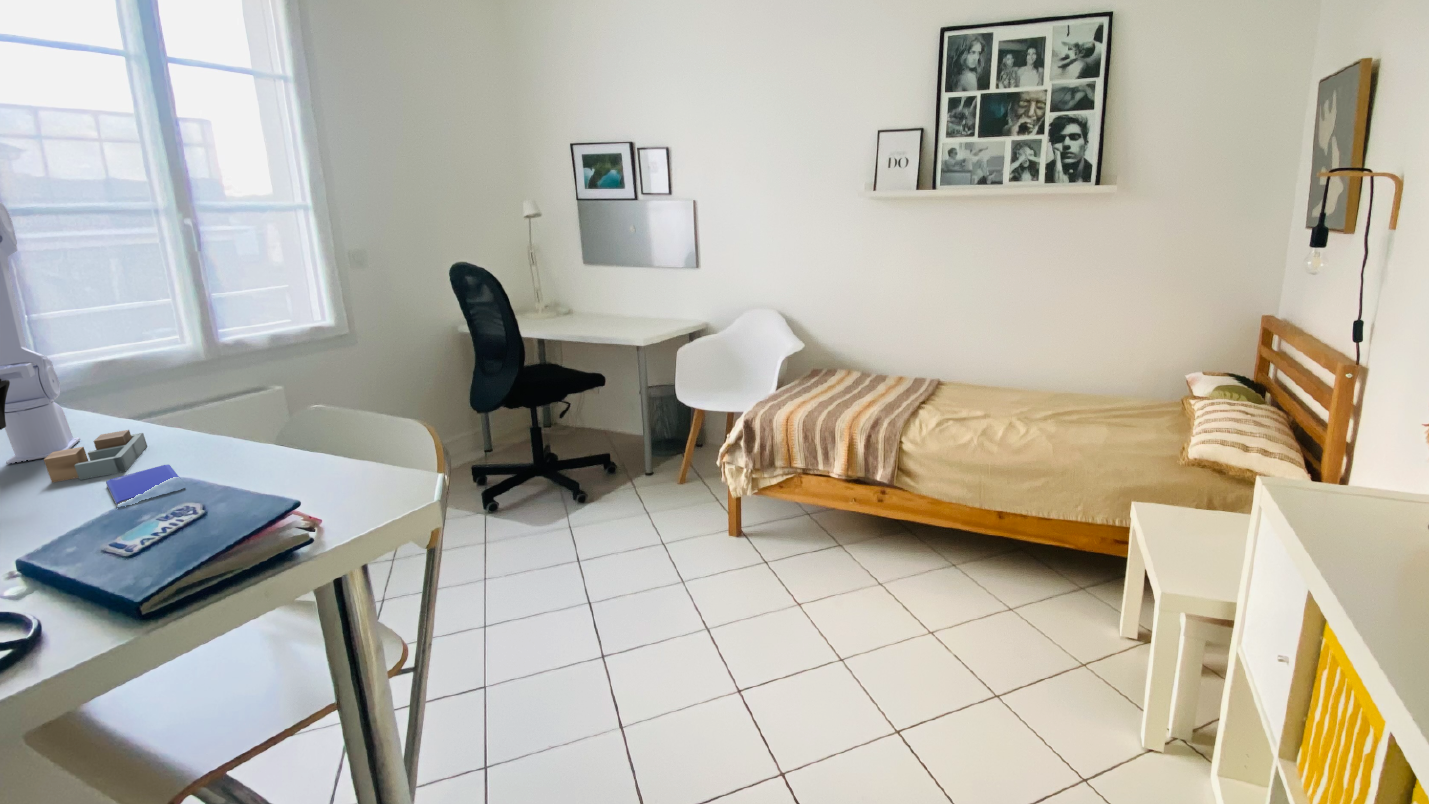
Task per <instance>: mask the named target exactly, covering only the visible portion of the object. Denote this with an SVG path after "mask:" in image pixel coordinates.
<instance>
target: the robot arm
mask: <svg viewBox="0 0 1429 804" xmlns="http://www.w3.org/2000/svg"><path fill="white" fill-rule="evenodd" d="M10 215H11V214H10V213H9V211H8V209H7V207H6V205H5V204H4V203H3V202H2V201H0V431H1V430H3V429H4V430H5V433H6V435H7V438H8V441H9V443H10V445H11V448H12V451H13V453H14V455H13V456H11V457H10V458H9V459H8V460H5V464H7V465H10V464H9V463H12V464H16V463H15V462H17V463H22V462H21V461H23V462H26V461H25V460H28V461H32V460H40V459H45V458H46V457H47V456H48V455H50V454H51V453H52V452H55V451H61V450H67V449H72V448H73V447H74V445H76V444H77V443H78V442H80V440H81V437H78V436H77V437H73V433H72V431H71V430H72V429H71V428H70V426H69V423H68V419H67V416H66V414H65V412H64V409H63V408H62V406H61V405H59V404H58V403H57V402H55V400H56V399H58V397H59V396H60V395H61V385H60V380H59V377H58V374H57V373H56V370H55V369H54V366H53V362H52V361H51V360H50V359H49V357H48V356H47V355H44V354H42V353H41V352H37V351H34V350H31V349H28V346H27V341H26V338H25V333H24V330H23V325H22V321H21V316H20V313H19V312H20V311H19V307H18V305H17V300H16V299H17V298H16V296H15V291H14V286H13V282H12V277H11V274H10V270H9V269H10V268H9V267H10V266H9V257H10V256H12V255H13V254H14V253H16V252H18V247H17V244H18V242H17V241H18V240H17V236H16V232H15V229H14V228H15V227H14V224H13V220H12V218H11V216H10Z"/></svg>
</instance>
